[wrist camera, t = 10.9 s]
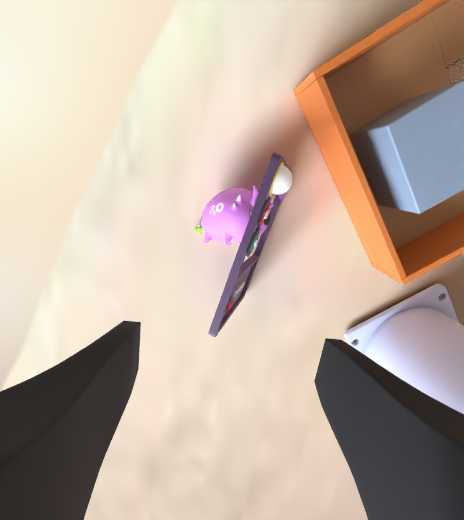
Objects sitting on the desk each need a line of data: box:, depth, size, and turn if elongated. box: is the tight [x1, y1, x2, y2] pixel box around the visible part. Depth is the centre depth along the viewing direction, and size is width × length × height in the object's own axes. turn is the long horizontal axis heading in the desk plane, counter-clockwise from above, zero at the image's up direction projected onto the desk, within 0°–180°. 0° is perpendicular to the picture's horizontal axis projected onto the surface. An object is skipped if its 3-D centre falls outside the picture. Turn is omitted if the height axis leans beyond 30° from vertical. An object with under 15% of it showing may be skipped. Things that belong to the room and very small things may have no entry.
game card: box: [195, 153, 293, 337], centre depth 17 cm, size 7×5×9 cm
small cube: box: [351, 81, 464, 214], centre depth 16 cm, size 5×4×4 cm
